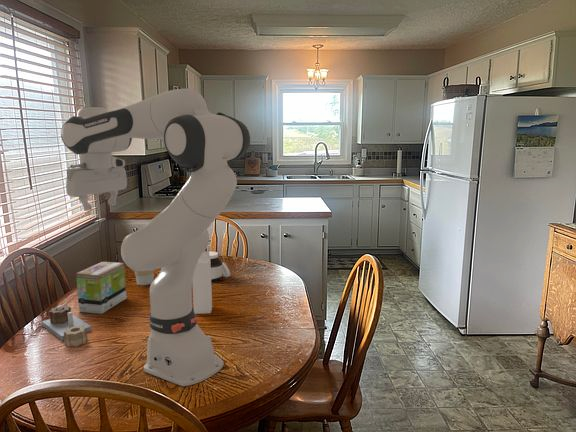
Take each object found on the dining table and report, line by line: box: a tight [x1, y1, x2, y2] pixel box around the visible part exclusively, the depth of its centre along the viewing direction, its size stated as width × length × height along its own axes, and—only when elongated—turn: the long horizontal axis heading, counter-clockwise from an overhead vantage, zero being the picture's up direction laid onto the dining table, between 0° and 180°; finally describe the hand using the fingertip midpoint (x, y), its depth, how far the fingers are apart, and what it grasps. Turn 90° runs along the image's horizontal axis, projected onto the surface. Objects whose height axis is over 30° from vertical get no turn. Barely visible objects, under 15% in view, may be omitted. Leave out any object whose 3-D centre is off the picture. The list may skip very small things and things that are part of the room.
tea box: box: [75, 261, 127, 315], centre depth 154 cm, size 15×10×15 cm, turn 168°
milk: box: [192, 251, 213, 315], centre depth 149 cm, size 6×6×22 cm
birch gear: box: [63, 325, 89, 348], centre depth 128 cm, size 6×6×4 cm
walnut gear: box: [48, 304, 72, 324], centre depth 139 cm, size 6×6×4 cm
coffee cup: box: [134, 270, 155, 286], centre depth 178 cm, size 9×9×15 cm
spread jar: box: [209, 251, 231, 283], centre depth 183 cm, size 12×11×12 cm
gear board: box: [41, 304, 92, 341], centre depth 137 cm, size 16×9×6 cm, turn 50°
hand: (100, 207), depth 129 cm, fingers open, 8 cm apart
